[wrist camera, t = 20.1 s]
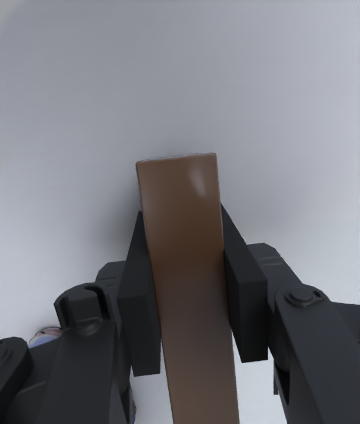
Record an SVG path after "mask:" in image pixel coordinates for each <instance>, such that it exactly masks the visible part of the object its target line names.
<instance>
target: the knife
mask: <svg viewBox="0 0 360 424" xmlns="http://www.w3.org/2000/svg"><path fill="white" fill-rule="evenodd" d="M136 171H137V178H138V184H139V191H140V198H141V205H142V212H143V219H144V225H145V232H146V239H147V246H148V253H149V258H150V264H151V270H152V277H153V284H154V291H155V298H156V305H157V311H158V318H159V325H160V332H161V342H162V349H163V355H164V362H165V369H166V376H167V383H168V390H169V397H170V403H171V410H172V417H173V424H240V422H239V410H238V399H237V387H236V376H235V364H234V352H233V341H232V329H231V325H230V313H229V302H228V291H227V279H226V268H225V256H224V237H223V226H222V214H221V203H220V191H219V180H218V168H217V157H216V153H196V154H187V155H179V156H170V157H162V158H153V159H147V160H143V161H139V162H136Z"/></svg>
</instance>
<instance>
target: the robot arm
mask: <svg viewBox="0 0 360 424" xmlns="http://www.w3.org/2000/svg"><path fill="white" fill-rule="evenodd" d="M220 203H221V202H220ZM221 214H222V226H223V237H224V256H225V268H226V279H227V291H228V302H229V313H230V325H231V329H232V332H233V336H234V339H235V342H236V345H237V349H238V352H239V355H240V359H241V362H242V363H247V362H254V361H262V360H268V347H269V349H270V352H271V354H272V356H273V358H274V395H278V391H279V395H280V398H281V402H282V406H283V409H284V413H285V417H286V420H287V424H360V305H355V304H344V303H337V302H331V301H330V299H329V298H328V297H327V296H326V295H325V294H324V293H323V292H322V291H321V290H319V289H317V288H315V287H313V286H309V285H306V284H303V283H302V282H301V281H300V280H299V278H298V277H297V276H296V275H295V273H294V272H293V271H292V270H291V268H290V267H289V266H288V265H287V264H286V262H285V261H284V260H283V258H282V257H281V256H280V254H279V253H278V252H277V251H276V249H275V248H273V247H271V246H269V245H267V244H266V243H258V244H250V245H246V243H245V241H244V240H243V238H242V237H241V235H240V233H239V232H238V230H237V228H236V227H235V225H234V223H233V222H232V220H231V218H230V217H229V215H228V214H227V212H226V210H225V209H224V207H223V205H222V204H221ZM54 307H55V310H56V313H57V316H58V319H59V322H60V325H61V329H62V333H61V336H60V337H58V338H56V339H53V340H51V341H49V342H46V343H43V344H40V345H37V346H35V347H32V348H29V347H28V345H27V342H26V341H25V340H23V339H22V338H18V337H10V338H4V339H1V340H0V424H133V404H132V389H131V385H130V381H129V378H130V371H131V365H132V370H133V374H134V377H136V376H144V375H152V374H160V360H161V332H160V325H159V318H158V311H157V305H156V298H155V291H154V284H153V277H152V270H151V264H150V258H149V253H148V246H147V239H146V232H145V225H144V219H143V212H142V211H139V212H138V216H137V220H136V224H135V228H134V232H133V236H132V240H131V243H130V247H129V251H128V255H127V259H126V261H119V262H111V263H107V264H106V265H105V266H104V267H103V268H102V269H101V270H99V272H98V275H97V277H96V281H95V282H94V283H85V284H81V285H78V286H75V287H73V288H71V289H69V290H67V291H65V292H64V293H63V294H61V295H60V296H59V297H58V298H57V299H56V301H55V302H54Z"/></svg>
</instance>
